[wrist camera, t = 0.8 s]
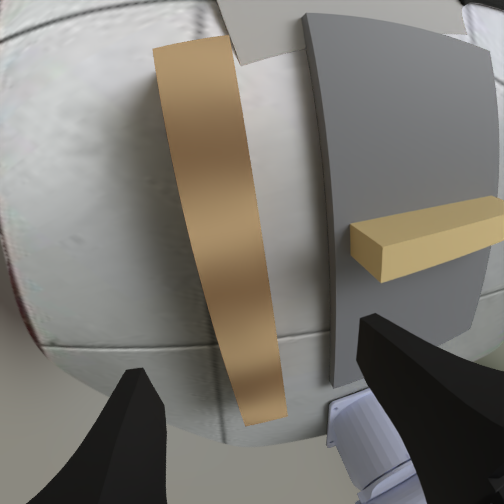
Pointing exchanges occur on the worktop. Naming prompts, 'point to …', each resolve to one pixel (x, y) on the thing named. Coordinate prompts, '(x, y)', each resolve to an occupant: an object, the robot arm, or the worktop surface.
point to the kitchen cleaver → (341, 3)
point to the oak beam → (222, 215)
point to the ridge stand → (403, 177)
